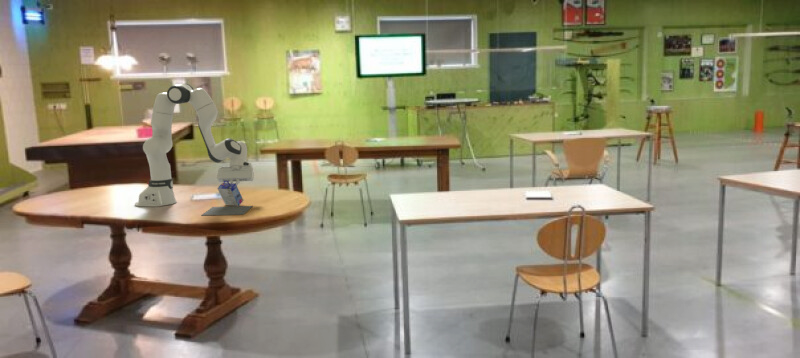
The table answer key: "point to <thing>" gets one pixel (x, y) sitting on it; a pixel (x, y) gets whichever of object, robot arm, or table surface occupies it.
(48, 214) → the table surface
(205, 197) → the table surface
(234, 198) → the ink cartridge box
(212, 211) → the mat
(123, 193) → the table surface
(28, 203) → the table surface
